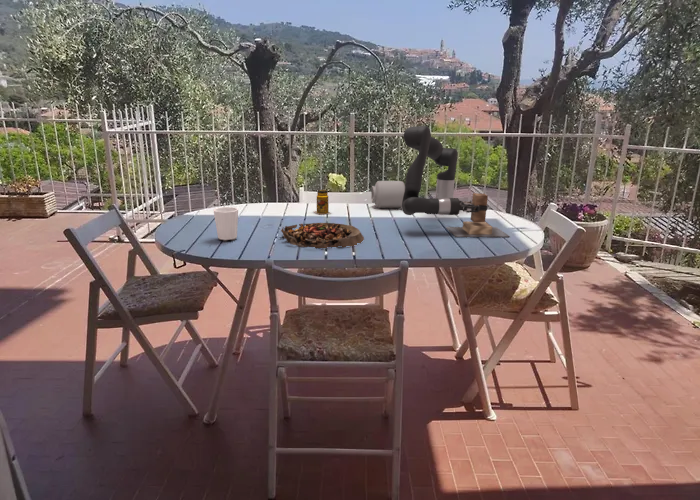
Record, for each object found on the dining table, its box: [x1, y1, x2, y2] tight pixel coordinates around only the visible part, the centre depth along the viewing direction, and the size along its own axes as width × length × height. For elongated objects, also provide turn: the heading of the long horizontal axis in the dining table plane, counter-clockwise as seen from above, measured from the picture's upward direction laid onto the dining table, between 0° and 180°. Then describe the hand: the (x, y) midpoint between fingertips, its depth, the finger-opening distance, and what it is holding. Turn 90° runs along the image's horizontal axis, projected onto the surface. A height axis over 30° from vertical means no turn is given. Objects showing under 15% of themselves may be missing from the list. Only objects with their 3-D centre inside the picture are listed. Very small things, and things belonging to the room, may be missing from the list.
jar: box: [360, 180, 405, 211], centre depth 267 cm, size 19×15×25 cm
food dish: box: [280, 222, 365, 249], centre depth 206 cm, size 35×33×8 cm
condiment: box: [313, 189, 332, 216], centre depth 253 cm, size 7×8×12 cm
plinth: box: [445, 220, 511, 239], centre depth 220 cm, size 24×16×4 cm, turn 94°
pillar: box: [470, 192, 489, 222], centre depth 217 cm, size 5×5×12 cm
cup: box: [213, 206, 239, 242], centre depth 201 cm, size 10×10×13 cm
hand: (484, 206), depth 217 cm, fingers closed on pillar, 5 cm apart
